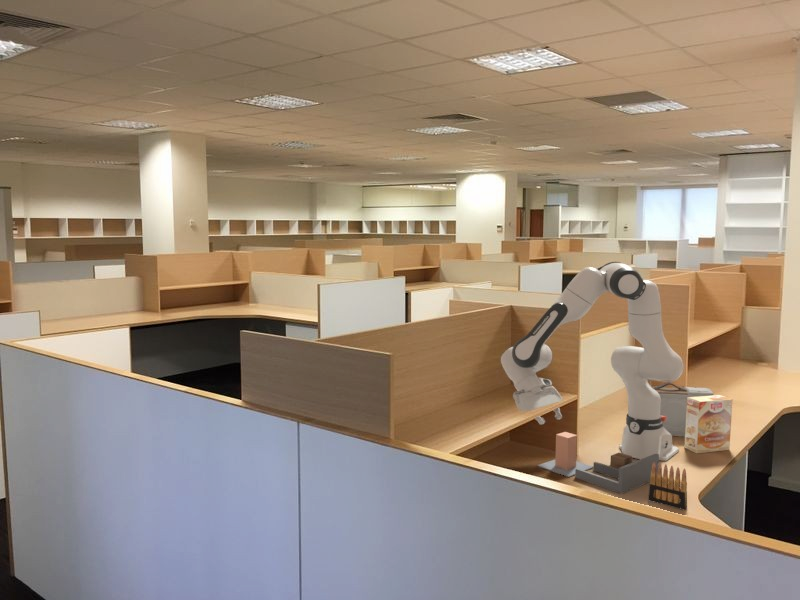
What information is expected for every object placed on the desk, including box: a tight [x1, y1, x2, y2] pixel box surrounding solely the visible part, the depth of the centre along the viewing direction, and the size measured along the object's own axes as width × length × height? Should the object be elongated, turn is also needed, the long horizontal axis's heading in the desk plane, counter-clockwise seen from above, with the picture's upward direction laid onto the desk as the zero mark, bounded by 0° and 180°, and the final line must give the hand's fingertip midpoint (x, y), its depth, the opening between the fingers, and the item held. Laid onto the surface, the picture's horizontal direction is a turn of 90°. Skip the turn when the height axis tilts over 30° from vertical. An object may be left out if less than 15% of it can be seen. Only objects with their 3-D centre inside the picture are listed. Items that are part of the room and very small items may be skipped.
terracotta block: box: [554, 431, 578, 470], centre depth 226 cm, size 5×5×11 cm
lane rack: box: [574, 454, 660, 495], centre depth 216 cm, size 21×17×8 cm
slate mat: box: [537, 459, 594, 478], centre depth 227 cm, size 14×13×1 cm
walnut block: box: [609, 452, 633, 469], centre depth 221 cm, size 5×5×6 cm
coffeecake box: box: [684, 394, 733, 454], centre depth 245 cm, size 15×7×20 cm, turn 106°
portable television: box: [649, 379, 714, 437], centre depth 265 cm, size 12×24×30 cm, turn 78°
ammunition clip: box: [647, 462, 688, 511], centre depth 196 cm, size 11×2×12 cm, turn 49°
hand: (551, 420), depth 230 cm, fingers open, 8 cm apart
